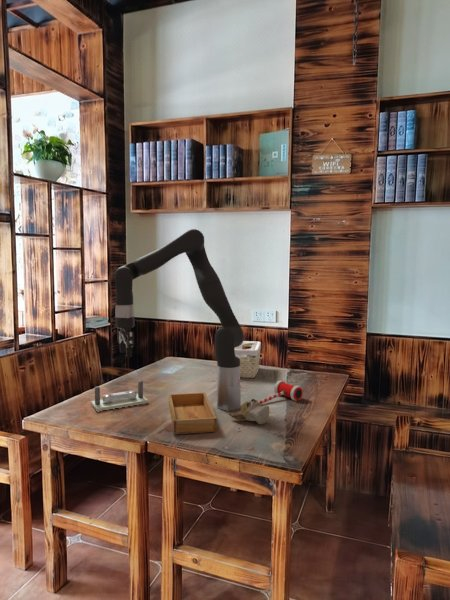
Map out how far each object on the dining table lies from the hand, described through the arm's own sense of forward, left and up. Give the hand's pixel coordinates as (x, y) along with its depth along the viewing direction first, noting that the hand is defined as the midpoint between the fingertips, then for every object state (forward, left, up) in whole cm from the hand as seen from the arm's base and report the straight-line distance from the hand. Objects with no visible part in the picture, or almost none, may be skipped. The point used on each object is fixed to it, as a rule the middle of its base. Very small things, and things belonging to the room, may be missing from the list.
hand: (126, 354), depth 188 cm
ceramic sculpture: (-41, -35, -21) cm, 58 cm away
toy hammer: (-27, -58, -21) cm, 68 cm away
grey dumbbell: (0, +3, -19) cm, 19 cm away
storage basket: (+18, -68, -21) cm, 73 cm away
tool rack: (0, +3, -21) cm, 21 cm away
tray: (-28, -16, -21) cm, 39 cm away
